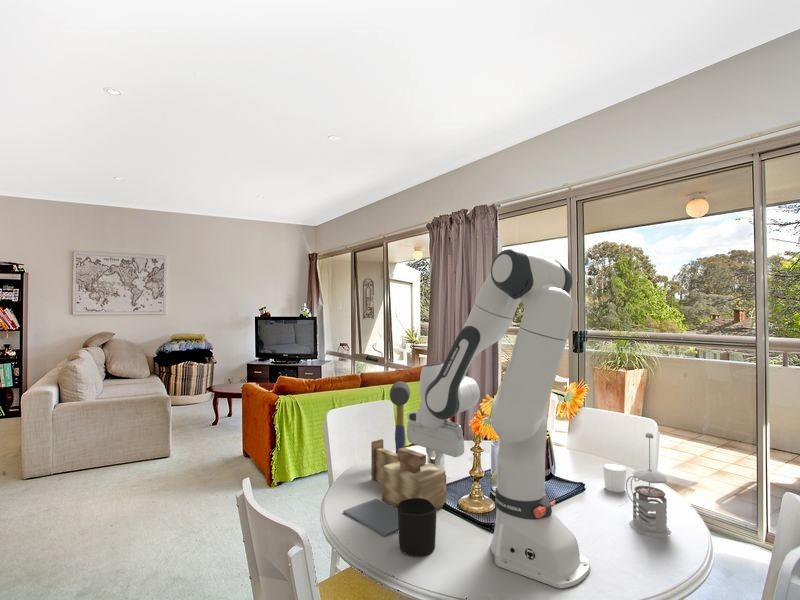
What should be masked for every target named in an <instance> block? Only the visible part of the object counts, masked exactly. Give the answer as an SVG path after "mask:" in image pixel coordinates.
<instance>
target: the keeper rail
mask: <svg viewBox="0 0 800 600" xmlns="http://www.w3.org/2000/svg"><path fill="white" fill-rule="evenodd" d="M370 443H371V456H370V457H371V465H370V466H371V471H370V472H371V481H373V482H375V481H378V482H379V483H382V470H383V466H384V465H388V464H391V463H394V462H397V461H400V458H399V457H398V454H396V452H393V451H391V450H388V449H385V448H384V439H382V438H381V439H377V440H374V441H371V442H370Z"/></svg>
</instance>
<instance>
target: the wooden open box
mask: <svg viewBox="0 0 800 600" xmlns="http://www.w3.org/2000/svg"><path fill="white" fill-rule="evenodd" d="M410 498H423V499H426V500H428V501H430V502H431V503H432V504H433V505H434V507H435V508H437V511H439V510H442V509H444V508H443V505H444V503H446V504H447V474H445V476H442V477H440V478H437V479H435V480H432V481H429V482H427V483H424V484H422V485H418V484H416V483H413V482H411V481H408V480H406V479H404V478H401V477H399V476H396V475H394V474H392V473H389V472H387V471H384V470H382V482H381V501H383V502H385V503H387V504H389V505H391V506H393V507H395V508H398V505H399V503H400V502H401V501H403V500H406V499H410Z"/></svg>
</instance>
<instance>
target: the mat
mask: <svg viewBox="0 0 800 600" xmlns="http://www.w3.org/2000/svg"><path fill="white" fill-rule="evenodd" d="M342 513H343V514H345V515H347V516H348V517H350V518H352V519H353V520H355V521H357V522H359V523H360V524H362V525H363V526H366V527H367V528H369V529H370V530H372V531H374V532H376V533H378V534H380V536H382V537H384V538H386V537H388V536H390V535H392V534H394V533H398V532H399V528H398V507H396V506H393V505H391V504H389V503H387V502H385V501H383V500H382V499H381V500H380V499H378V498H374V499H373V498H372V499H371V500H368V501H365V502H363V503H361V504H358V505H355V506H352V507H349V508H347V509H344V510H343V511H342Z"/></svg>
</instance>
